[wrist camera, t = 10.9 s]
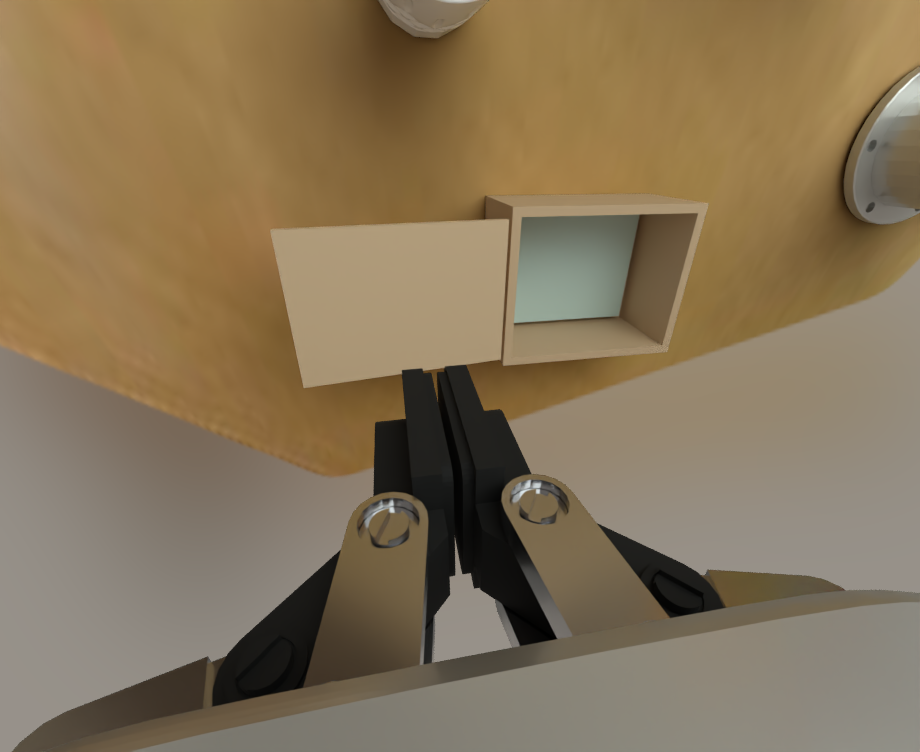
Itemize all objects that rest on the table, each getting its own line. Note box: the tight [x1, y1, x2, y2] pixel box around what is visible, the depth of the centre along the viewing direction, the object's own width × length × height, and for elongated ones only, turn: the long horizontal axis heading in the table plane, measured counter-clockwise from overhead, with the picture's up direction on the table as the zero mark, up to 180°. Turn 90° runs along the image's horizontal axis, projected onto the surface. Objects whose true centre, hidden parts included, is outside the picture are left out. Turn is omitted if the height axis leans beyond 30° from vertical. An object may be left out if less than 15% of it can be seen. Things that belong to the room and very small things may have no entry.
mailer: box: [485, 194, 709, 366], centre depth 32 cm, size 14×11×7 cm
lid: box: [270, 219, 509, 388], centre depth 26 cm, size 14×10×1 cm
